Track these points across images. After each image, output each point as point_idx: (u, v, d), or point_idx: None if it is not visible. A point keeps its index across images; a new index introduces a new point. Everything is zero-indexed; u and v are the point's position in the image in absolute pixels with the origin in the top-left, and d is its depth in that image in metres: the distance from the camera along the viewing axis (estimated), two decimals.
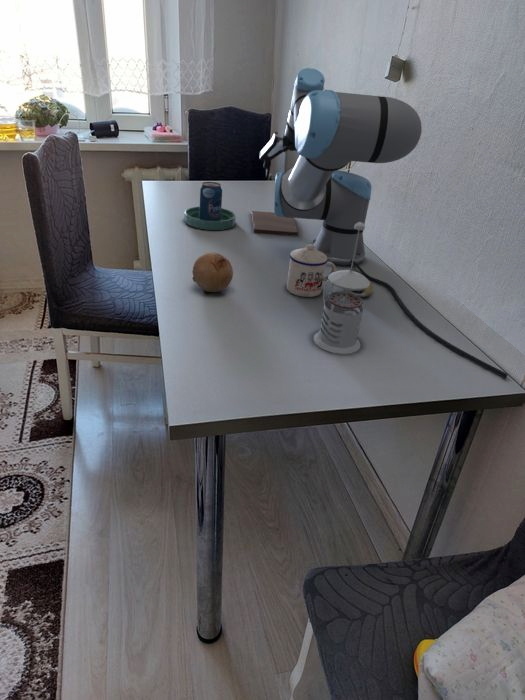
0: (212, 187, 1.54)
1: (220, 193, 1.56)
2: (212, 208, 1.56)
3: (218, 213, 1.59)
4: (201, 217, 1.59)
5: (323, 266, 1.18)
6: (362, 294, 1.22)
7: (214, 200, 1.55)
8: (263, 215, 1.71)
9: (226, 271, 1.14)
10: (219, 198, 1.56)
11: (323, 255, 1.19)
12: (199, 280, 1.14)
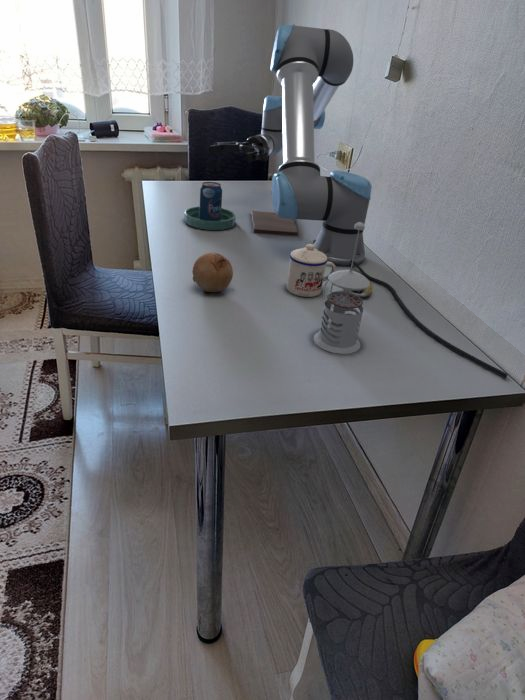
0: (212, 187, 1.54)
1: (220, 193, 1.56)
2: (212, 208, 1.56)
3: (218, 213, 1.59)
4: (201, 217, 1.59)
5: (323, 266, 1.18)
6: (362, 294, 1.22)
7: (214, 200, 1.55)
8: (263, 215, 1.71)
9: (226, 271, 1.14)
10: (219, 198, 1.56)
11: (323, 255, 1.19)
12: (199, 280, 1.14)
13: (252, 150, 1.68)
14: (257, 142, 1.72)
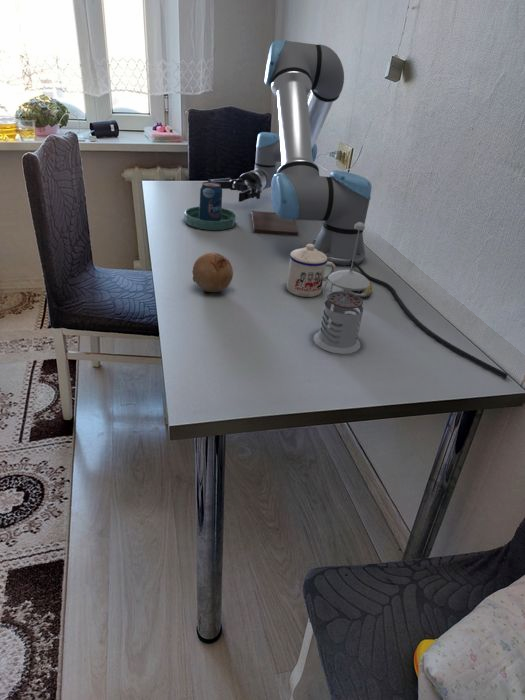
0: (212, 187, 1.54)
1: (220, 193, 1.56)
2: (212, 208, 1.56)
3: (218, 213, 1.59)
4: (201, 217, 1.59)
5: (323, 266, 1.18)
6: (362, 294, 1.22)
7: (214, 200, 1.55)
8: (263, 215, 1.71)
9: (226, 271, 1.14)
10: (219, 198, 1.56)
11: (323, 255, 1.19)
12: (199, 280, 1.14)
13: (245, 187, 1.72)
14: (251, 179, 1.75)
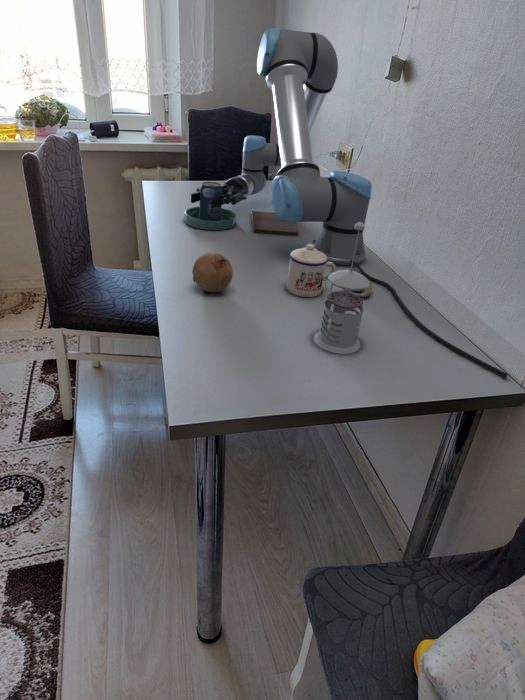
0: (212, 187, 1.54)
1: (220, 193, 1.56)
2: (212, 208, 1.56)
3: (218, 213, 1.59)
4: (201, 217, 1.59)
5: (323, 266, 1.18)
6: (362, 294, 1.22)
7: None
8: (263, 215, 1.71)
9: (226, 271, 1.14)
10: None
11: (323, 255, 1.19)
12: (199, 280, 1.14)
13: (231, 193, 1.64)
14: (237, 185, 1.68)
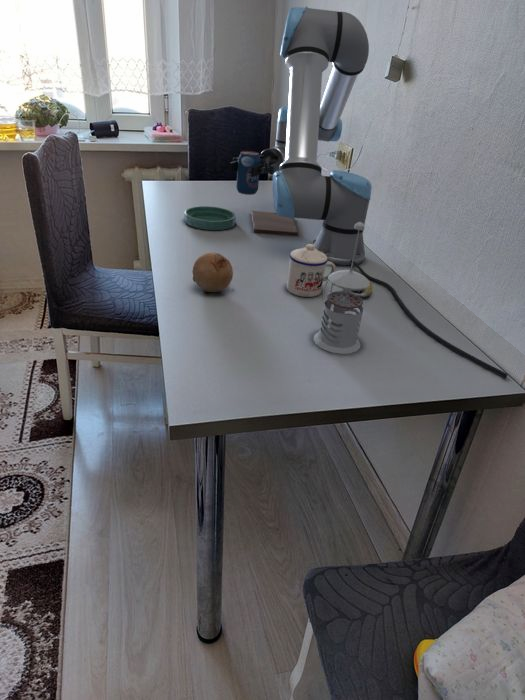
0: (251, 155, 1.51)
1: (259, 162, 1.53)
2: (250, 178, 1.54)
3: (256, 183, 1.56)
4: (238, 187, 1.56)
5: (323, 266, 1.18)
6: (362, 294, 1.22)
7: None
8: (263, 215, 1.71)
9: (226, 271, 1.14)
10: None
11: (323, 255, 1.19)
12: (199, 280, 1.14)
13: None
14: (273, 156, 1.65)
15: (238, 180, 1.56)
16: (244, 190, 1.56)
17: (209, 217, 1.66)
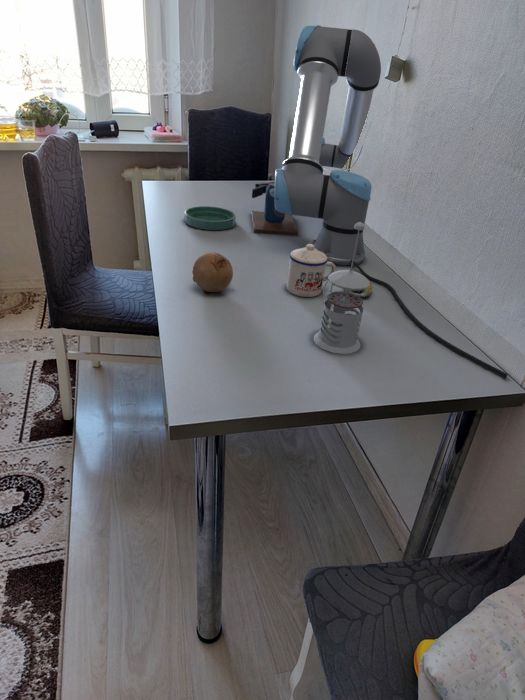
0: None
1: None
2: None
3: None
4: (266, 216, 1.63)
5: (323, 266, 1.18)
6: (362, 294, 1.22)
7: None
8: (263, 215, 1.71)
9: (226, 271, 1.14)
10: None
11: (323, 255, 1.19)
12: (199, 280, 1.14)
13: None
14: None
15: (266, 210, 1.63)
16: (271, 219, 1.63)
17: (209, 217, 1.66)
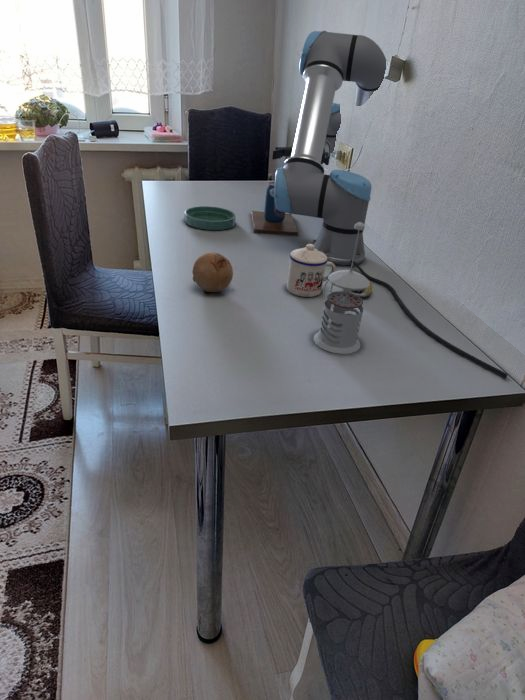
0: None
1: None
2: None
3: (283, 212, 1.63)
4: (266, 216, 1.63)
5: (323, 266, 1.18)
6: (362, 294, 1.22)
7: None
8: (263, 215, 1.71)
9: (226, 271, 1.14)
10: None
11: (323, 255, 1.19)
12: (199, 280, 1.14)
13: None
14: None
15: (266, 210, 1.63)
16: (271, 219, 1.63)
17: (209, 217, 1.66)
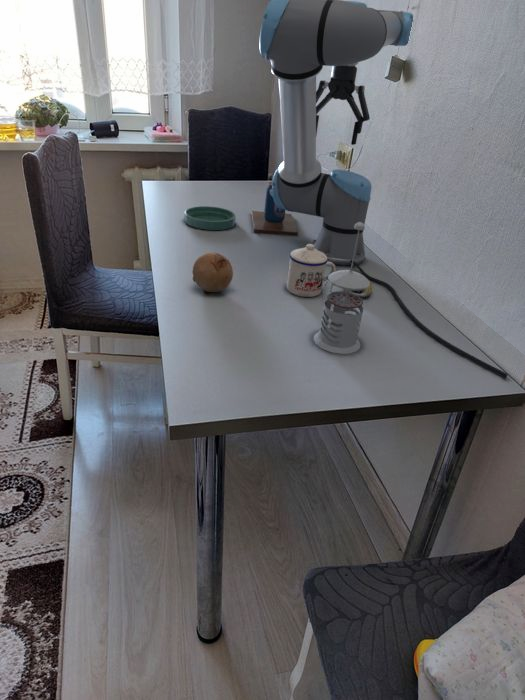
0: None
1: None
2: (277, 208, 1.61)
3: (283, 212, 1.63)
4: (266, 216, 1.63)
5: (323, 266, 1.18)
6: (362, 294, 1.22)
7: None
8: (263, 215, 1.71)
9: (226, 271, 1.14)
10: None
11: (323, 255, 1.19)
12: (199, 280, 1.14)
13: None
14: (345, 80, 1.49)
15: (266, 210, 1.63)
16: (271, 219, 1.63)
17: (209, 217, 1.66)
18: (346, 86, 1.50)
